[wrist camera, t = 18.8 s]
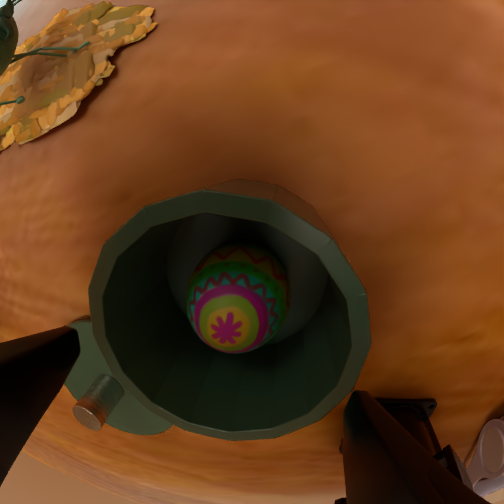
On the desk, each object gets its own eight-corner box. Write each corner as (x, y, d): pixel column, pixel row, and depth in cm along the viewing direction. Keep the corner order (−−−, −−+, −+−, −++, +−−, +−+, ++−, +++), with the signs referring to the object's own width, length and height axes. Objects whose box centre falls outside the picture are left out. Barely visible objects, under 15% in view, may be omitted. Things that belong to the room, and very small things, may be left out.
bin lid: (185, 338, 19) (157, 387, 14) (182, 440, 22) (166, 484, 17) (52, 299, 20) (10, 327, 15) (73, 401, 23) (47, 433, 18)
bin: (355, 199, 15) (408, 227, 8) (314, 362, 18) (321, 453, 11) (167, 169, 16) (87, 176, 9) (157, 331, 19) (104, 404, 12)
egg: (197, 236, 16) (151, 274, 11) (288, 231, 16) (288, 269, 10) (208, 317, 18) (176, 380, 12) (291, 315, 17) (292, 383, 11)
